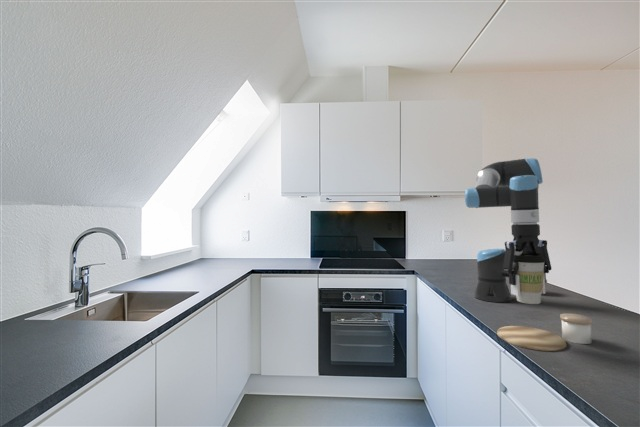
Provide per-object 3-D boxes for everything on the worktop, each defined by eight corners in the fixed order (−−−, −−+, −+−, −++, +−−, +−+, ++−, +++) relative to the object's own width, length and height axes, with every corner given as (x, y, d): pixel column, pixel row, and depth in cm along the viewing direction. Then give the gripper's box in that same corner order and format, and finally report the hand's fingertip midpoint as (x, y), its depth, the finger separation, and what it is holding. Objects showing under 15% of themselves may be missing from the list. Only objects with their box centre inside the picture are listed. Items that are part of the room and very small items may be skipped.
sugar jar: (554, 336, 96) (553, 314, 96) (574, 333, 98) (573, 312, 98) (579, 345, 89) (577, 322, 89) (599, 343, 90) (598, 320, 90)
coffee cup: (503, 300, 97) (501, 254, 97) (521, 295, 102) (519, 251, 102) (537, 307, 88) (534, 257, 89) (554, 302, 93) (552, 254, 93)
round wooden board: (484, 330, 102) (484, 328, 102) (529, 325, 105) (529, 323, 105) (530, 354, 84) (530, 351, 84) (582, 347, 88) (582, 344, 88)
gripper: (505, 225, 90) (508, 299, 90) (564, 222, 94) (567, 294, 93) (487, 224, 97) (490, 293, 97) (542, 222, 101) (545, 288, 101)
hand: (528, 293), depth 95 cm, fingers closed on coffee cup, 9 cm apart
